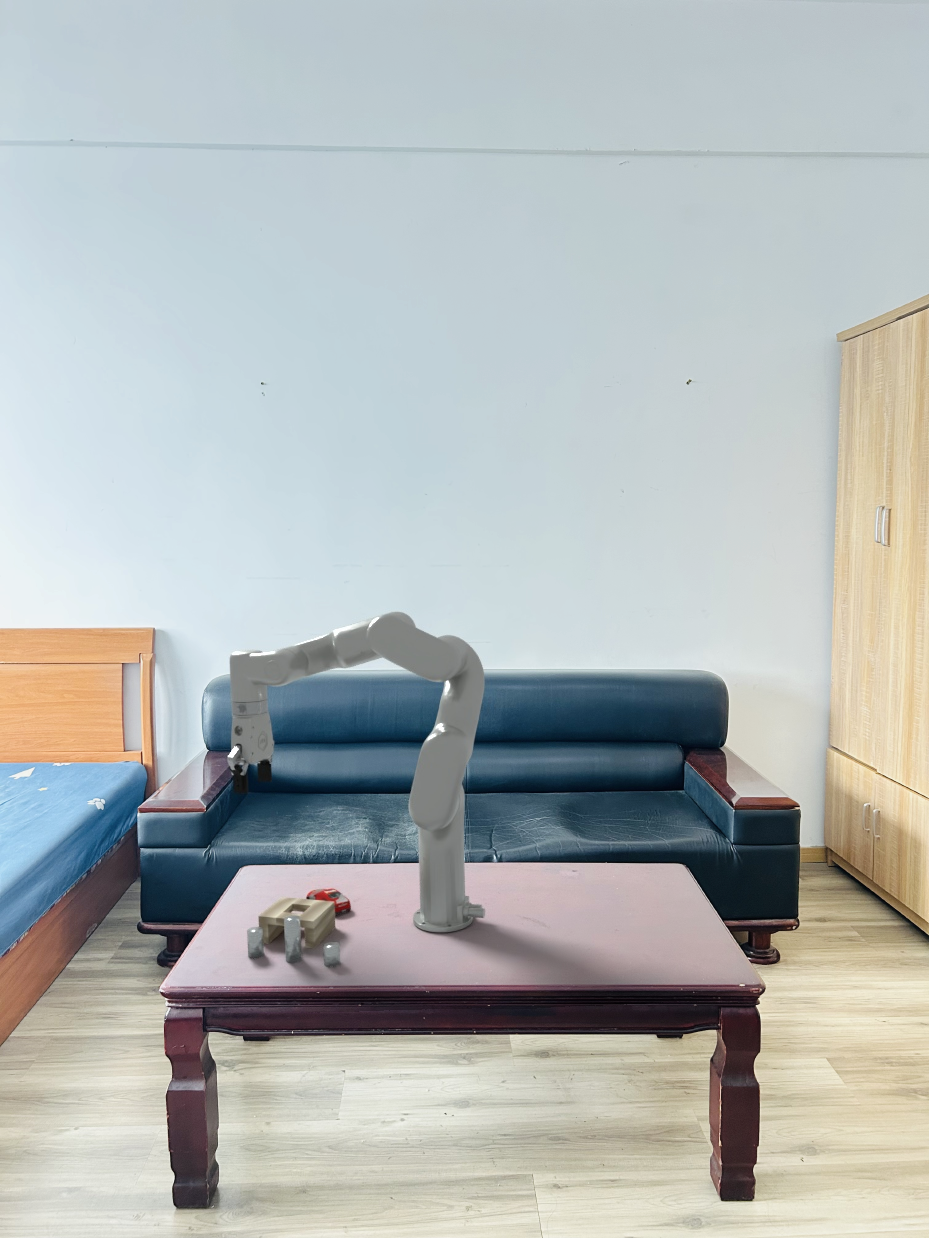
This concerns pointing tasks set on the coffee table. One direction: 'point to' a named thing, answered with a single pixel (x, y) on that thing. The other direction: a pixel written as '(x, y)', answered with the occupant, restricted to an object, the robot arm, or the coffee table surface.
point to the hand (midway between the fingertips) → (253, 787)
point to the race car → (331, 899)
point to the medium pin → (255, 942)
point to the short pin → (331, 954)
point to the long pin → (292, 938)
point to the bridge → (313, 919)
